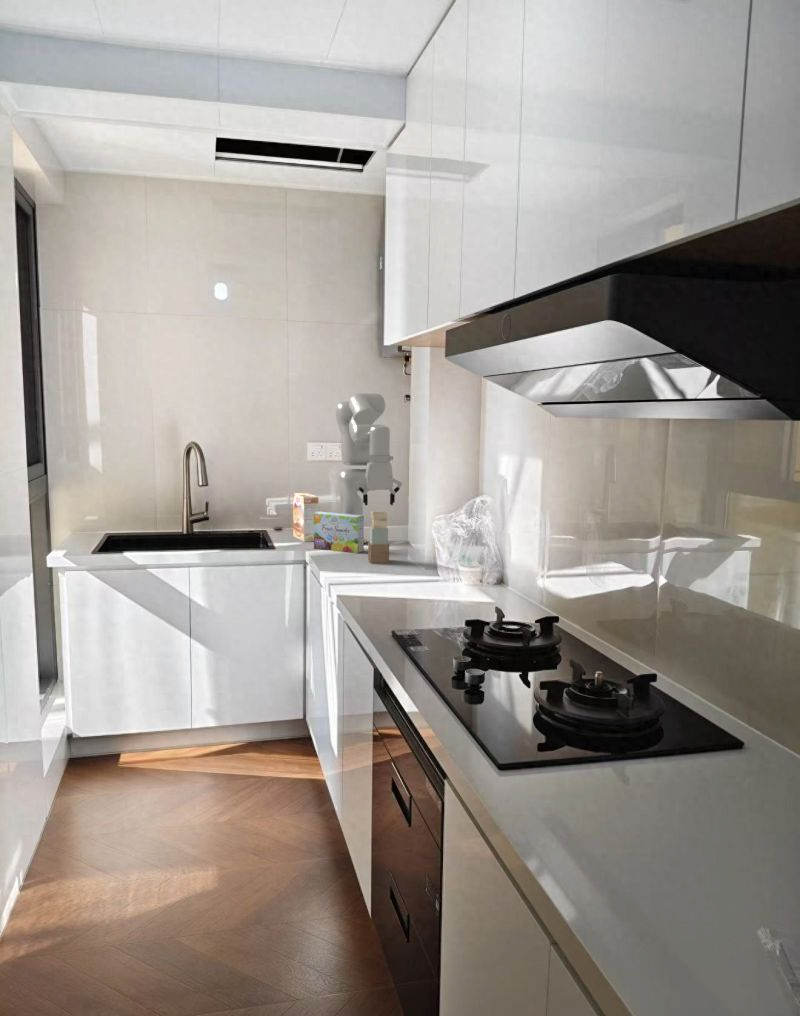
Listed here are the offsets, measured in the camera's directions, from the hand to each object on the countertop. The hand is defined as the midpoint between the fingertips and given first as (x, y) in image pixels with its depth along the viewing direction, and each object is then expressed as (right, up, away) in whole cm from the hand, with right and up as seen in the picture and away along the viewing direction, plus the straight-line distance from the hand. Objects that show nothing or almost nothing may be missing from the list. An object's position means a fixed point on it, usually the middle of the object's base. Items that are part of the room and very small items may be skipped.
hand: (378, 504), depth 314 cm
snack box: (-17, -19, +26) cm, 36 cm away
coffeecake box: (-33, -15, +52) cm, 64 cm away
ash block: (0, -9, +1) cm, 9 cm away
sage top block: (0, -15, +1) cm, 15 cm away
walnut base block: (0, -22, +2) cm, 22 cm away
